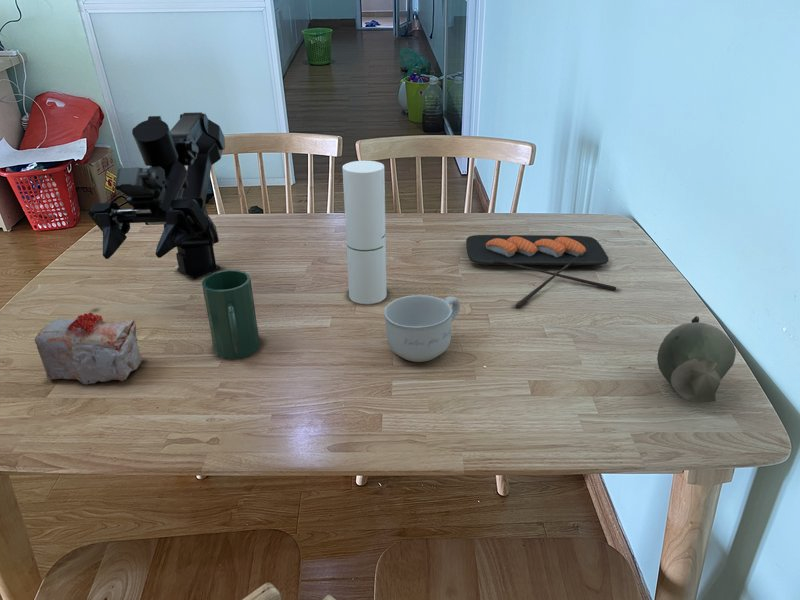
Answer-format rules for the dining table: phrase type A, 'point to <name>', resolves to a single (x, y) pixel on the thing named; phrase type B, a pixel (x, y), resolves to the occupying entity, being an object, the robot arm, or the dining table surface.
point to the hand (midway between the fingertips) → (131, 256)
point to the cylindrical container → (365, 230)
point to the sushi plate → (537, 253)
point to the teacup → (420, 326)
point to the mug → (231, 313)
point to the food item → (88, 349)
